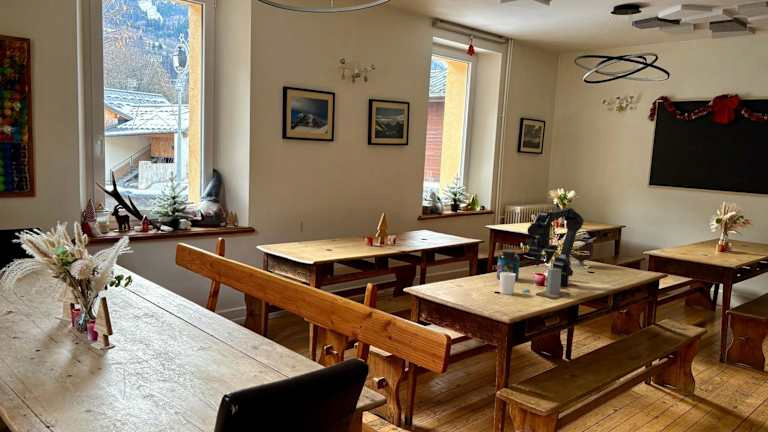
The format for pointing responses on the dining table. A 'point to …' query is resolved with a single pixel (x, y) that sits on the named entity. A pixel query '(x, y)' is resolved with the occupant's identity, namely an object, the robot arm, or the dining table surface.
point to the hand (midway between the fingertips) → (542, 264)
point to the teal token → (526, 290)
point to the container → (508, 263)
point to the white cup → (507, 283)
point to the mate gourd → (586, 247)
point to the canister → (553, 281)
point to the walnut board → (551, 296)
